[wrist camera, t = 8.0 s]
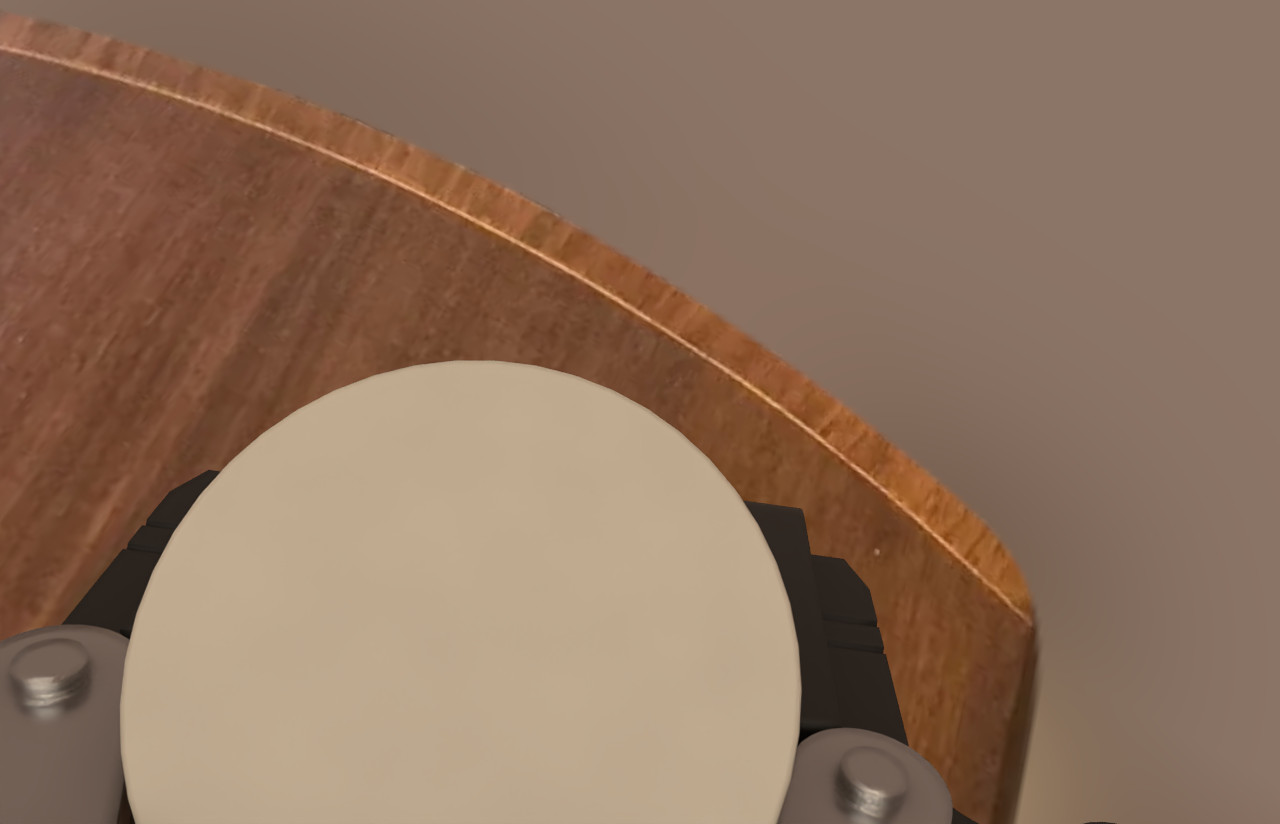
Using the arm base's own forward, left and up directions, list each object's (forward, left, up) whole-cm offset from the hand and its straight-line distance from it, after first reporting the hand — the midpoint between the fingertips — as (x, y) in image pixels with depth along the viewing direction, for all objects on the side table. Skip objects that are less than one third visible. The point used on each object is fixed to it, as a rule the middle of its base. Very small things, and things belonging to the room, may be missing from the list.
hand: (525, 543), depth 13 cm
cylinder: (0, +2, -4) cm, 4 cm away
